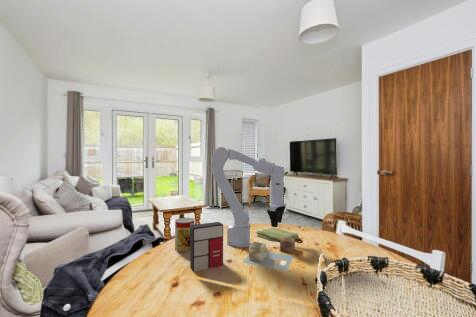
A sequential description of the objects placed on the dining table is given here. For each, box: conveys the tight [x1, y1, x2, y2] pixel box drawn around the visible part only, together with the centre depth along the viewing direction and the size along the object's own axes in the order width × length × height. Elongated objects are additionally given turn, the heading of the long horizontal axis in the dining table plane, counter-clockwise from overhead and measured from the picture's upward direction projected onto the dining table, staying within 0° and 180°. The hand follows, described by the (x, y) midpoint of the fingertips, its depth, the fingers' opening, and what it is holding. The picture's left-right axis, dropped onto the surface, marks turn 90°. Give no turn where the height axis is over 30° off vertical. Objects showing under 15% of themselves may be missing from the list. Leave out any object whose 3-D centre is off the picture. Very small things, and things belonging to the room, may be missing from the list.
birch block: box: [248, 241, 267, 262], centre depth 87 cm, size 5×5×5 cm
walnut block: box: [279, 238, 296, 254], centre depth 95 cm, size 5×5×5 cm
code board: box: [242, 251, 294, 272], centre depth 86 cm, size 16×13×1 cm
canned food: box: [174, 217, 195, 253], centre depth 98 cm, size 8×8×12 cm
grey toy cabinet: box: [189, 221, 224, 273], centre depth 80 cm, size 11×4×15 cm, turn 117°
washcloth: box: [255, 227, 300, 243], centre depth 113 cm, size 13×18×3 cm
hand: (276, 224), depth 101 cm, fingers open, 7 cm apart
